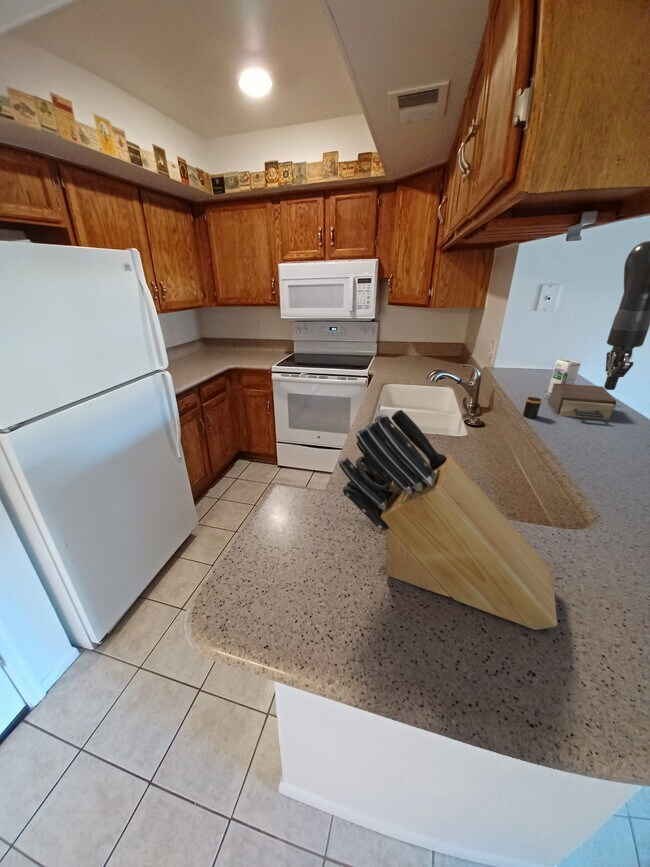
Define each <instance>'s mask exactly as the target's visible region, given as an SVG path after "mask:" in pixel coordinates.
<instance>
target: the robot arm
mask: <svg viewBox="0 0 650 867" xmlns="http://www.w3.org/2000/svg"><path fill="white" fill-rule="evenodd" d="M620 299H621V300H620V303H619V305H618V309H617V312H616V313H615V316H614V318H613V321H612V324H611V328H610V331H609V334H608V338H607V339H606V344H607V345H609V346H611V347H612V348H611V350H610V351H608V352H606V353H605V354H606V356H605V357H606V358H605V359H606V360H605V372H606V379H605V383H604V385H603V388H604V389H605V390H606V391H614V390H616V388H617V384H618V381H619V379H620V378H624V377H625V376H626V374H627V373H628V372H629V371H630V369H631V368H633V367H634V361H631V360H632V358H633V355H634V354H633V351H634V348H640V347H642V346H643V345H644V343H645V340H646V337H647V334H648V332H649V329H650V240H648V241H643V242H641V243H639V244H637V245H636V246H634V247H633V248H632V250H631V251H630V252H629V254H628V255H627V257H626V259H625V262H624V267H623V294H622V297H621V298H620Z"/></svg>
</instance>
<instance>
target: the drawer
mask: <svg viewBox="0 0 650 867" xmlns="http://www.w3.org/2000/svg"><path fill="white" fill-rule="evenodd" d="M613 408H614V409H615V407H614V404H608V403H598V402H586V401H573V400H563V403H562V406H561V410H560V413H559V414H558V415H559V416H562V417H563V416H564V417H574V418H576V417H577V418H583V419H584V418H585V419H596V420H604V421H605V420H606V421H609V420H610V419H611V417H612V415H611V413H612V414H613V412H614V410H613ZM612 411H613V412H612ZM610 416H611V417H610Z"/></svg>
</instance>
